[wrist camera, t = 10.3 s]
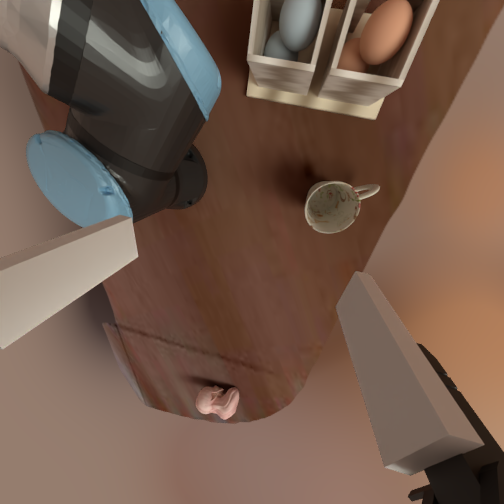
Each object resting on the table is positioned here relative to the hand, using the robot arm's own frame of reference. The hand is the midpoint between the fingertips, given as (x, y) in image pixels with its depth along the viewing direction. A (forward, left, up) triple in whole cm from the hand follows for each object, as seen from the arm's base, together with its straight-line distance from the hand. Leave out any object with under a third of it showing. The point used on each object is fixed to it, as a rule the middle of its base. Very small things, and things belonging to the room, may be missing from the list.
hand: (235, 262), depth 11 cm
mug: (+12, +1, -32) cm, 34 cm away
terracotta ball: (+7, +19, -26) cm, 33 cm away
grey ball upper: (-2, +19, -26) cm, 33 cm away
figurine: (-3, -89, -32) cm, 95 cm away
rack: (+3, +19, -32) cm, 37 cm away
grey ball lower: (-3, +18, -31) cm, 36 cm away
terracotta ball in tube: (+7, +18, -31) cm, 37 cm away
